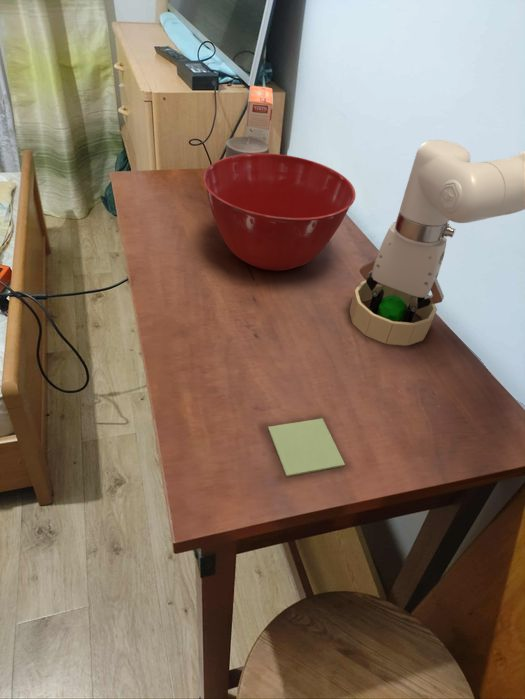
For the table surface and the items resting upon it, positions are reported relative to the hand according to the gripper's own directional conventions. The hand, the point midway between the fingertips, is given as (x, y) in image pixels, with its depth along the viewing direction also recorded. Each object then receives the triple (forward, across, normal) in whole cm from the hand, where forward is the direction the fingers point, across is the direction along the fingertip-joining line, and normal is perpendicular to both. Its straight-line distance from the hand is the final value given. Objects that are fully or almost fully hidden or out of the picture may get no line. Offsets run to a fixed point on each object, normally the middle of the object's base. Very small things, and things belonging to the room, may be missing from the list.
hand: (389, 317), depth 91 cm
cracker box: (+1, +50, -36) cm, 62 cm away
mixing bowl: (+1, +28, -6) cm, 29 cm away
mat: (+1, 0, +34) cm, 35 cm away
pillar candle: (+1, +45, -24) cm, 51 cm away
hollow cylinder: (+1, 0, 0) cm, 1 cm away
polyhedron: (+1, 0, 0) cm, 1 cm away
